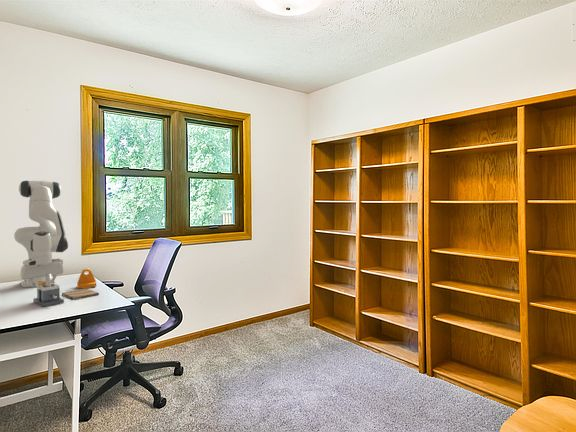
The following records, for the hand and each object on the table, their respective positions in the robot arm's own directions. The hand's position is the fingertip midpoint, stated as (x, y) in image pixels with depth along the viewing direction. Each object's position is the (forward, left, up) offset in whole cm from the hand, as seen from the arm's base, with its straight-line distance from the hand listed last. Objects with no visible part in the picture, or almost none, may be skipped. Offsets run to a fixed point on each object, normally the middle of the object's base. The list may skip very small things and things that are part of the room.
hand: (42, 284), depth 201 cm
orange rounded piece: (-12, +29, -9) cm, 33 cm away
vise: (+9, 0, -9) cm, 13 cm away
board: (+5, +18, -9) cm, 21 cm away
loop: (+4, 0, -1) cm, 4 cm away
